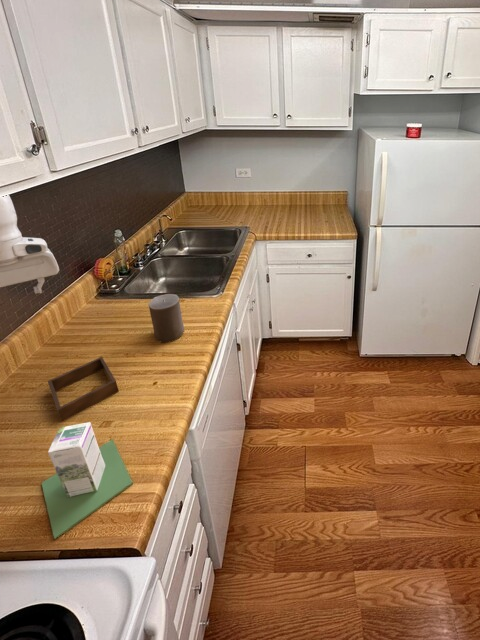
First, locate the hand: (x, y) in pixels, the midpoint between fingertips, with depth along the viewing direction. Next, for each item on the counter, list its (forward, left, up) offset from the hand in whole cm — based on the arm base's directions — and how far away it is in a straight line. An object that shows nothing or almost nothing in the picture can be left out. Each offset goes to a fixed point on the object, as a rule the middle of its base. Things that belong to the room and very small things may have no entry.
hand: (15, 299), depth 86 cm
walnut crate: (+7, -10, -30) cm, 32 cm away
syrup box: (+1, -39, -29) cm, 49 cm away
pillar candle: (+35, -2, -30) cm, 46 cm away
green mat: (+1, -39, -30) cm, 49 cm away
